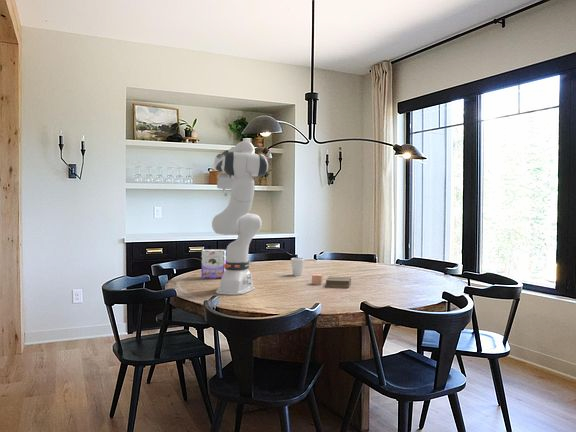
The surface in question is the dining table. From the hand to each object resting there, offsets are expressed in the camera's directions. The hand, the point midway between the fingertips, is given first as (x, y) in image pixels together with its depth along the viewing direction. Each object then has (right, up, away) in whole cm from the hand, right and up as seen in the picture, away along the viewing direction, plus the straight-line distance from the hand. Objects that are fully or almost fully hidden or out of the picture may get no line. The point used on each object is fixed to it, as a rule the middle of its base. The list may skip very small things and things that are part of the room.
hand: (233, 196), depth 280 cm
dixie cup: (+38, -47, +4) cm, 61 cm away
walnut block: (+60, -49, -28) cm, 82 cm away
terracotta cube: (+49, -49, -23) cm, 73 cm away
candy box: (-11, -48, -5) cm, 49 cm away
